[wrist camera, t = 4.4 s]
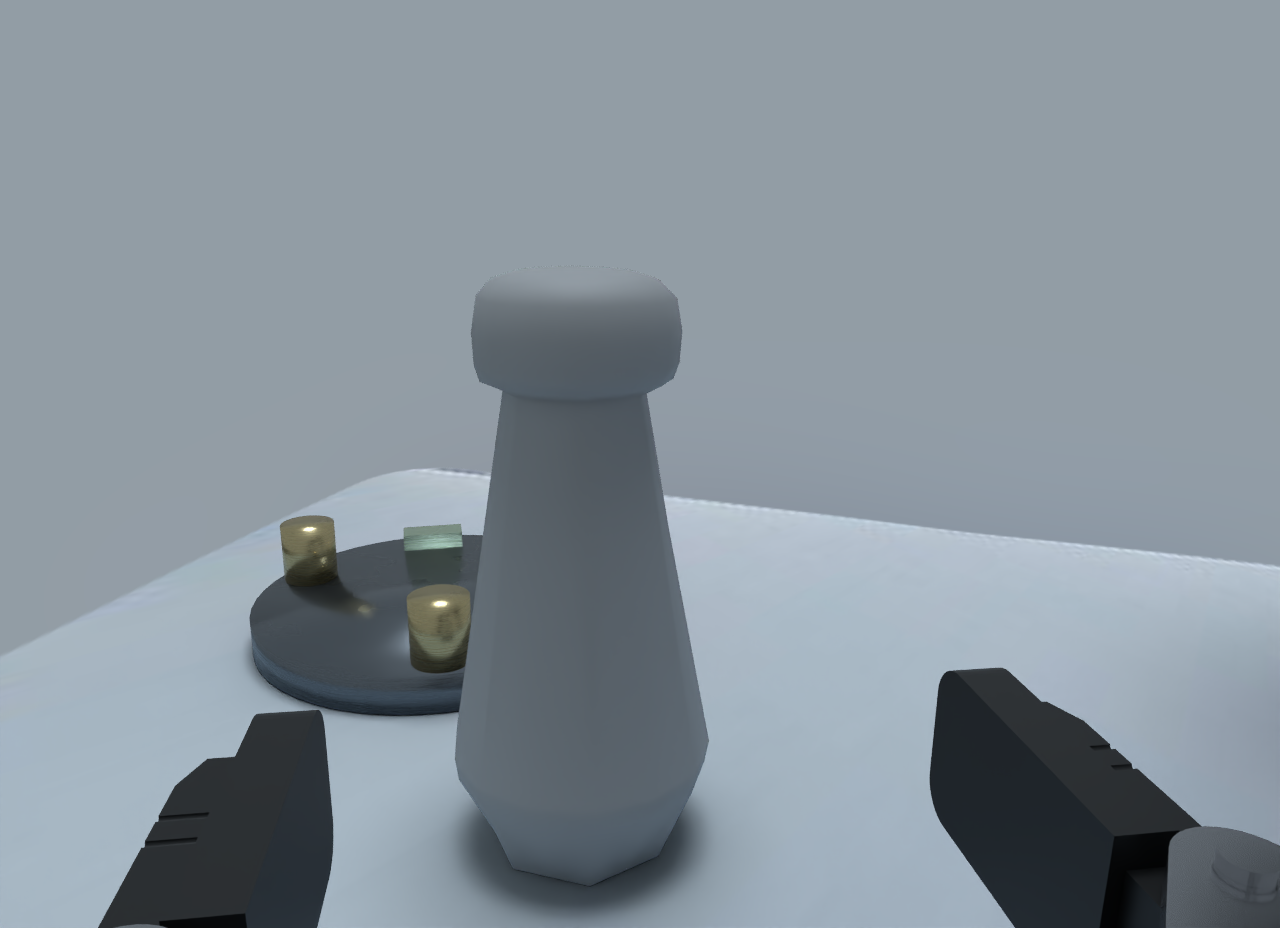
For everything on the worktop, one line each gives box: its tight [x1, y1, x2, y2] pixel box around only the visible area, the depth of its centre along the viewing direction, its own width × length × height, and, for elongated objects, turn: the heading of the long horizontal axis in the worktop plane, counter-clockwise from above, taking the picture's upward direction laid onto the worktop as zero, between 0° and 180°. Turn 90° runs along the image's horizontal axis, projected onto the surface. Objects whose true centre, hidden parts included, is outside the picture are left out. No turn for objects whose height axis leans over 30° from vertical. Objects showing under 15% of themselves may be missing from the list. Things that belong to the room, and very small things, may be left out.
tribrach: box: [250, 516, 483, 715], centre depth 33 cm, size 12×12×3 cm
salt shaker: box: [455, 266, 709, 886], centre depth 21 cm, size 6×6×13 cm
